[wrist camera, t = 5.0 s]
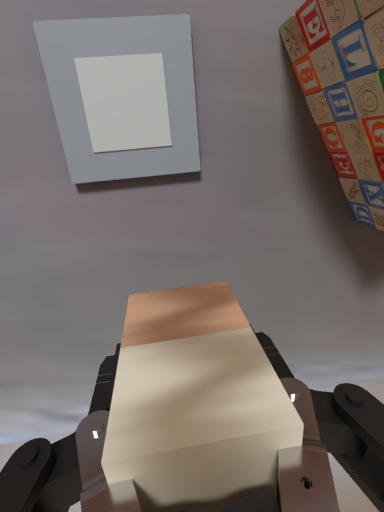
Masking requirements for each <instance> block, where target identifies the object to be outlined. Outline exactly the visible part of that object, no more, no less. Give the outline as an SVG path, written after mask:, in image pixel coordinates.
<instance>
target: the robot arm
mask: <svg viewBox="0 0 384 512" xmlns="http://www.w3.org/2000/svg"><path fill="white" fill-rule="evenodd" d="M249 325H250V326H251V324H249ZM251 328H252V326H251ZM252 330H253V328H252ZM253 332H254V330H253ZM254 334H255V336H256V337H257V339H258V341H259V343H260V345H261V347H262V348H263V350H264V352H265V354H266V356H267V358H268V359H269V361H270V363H271V365H272V367H273V369H274V370H275V372H276V374H277V376H278V378H279V380H280V381H281V383H282V385H283V387H284V389H285V391H286V392H287V394H288V396H289V398H290V400H291V402H292V403H293V405H294V407H295V409H296V411H297V413H298V414H299V416H300V418H301V420H302V422H303V424H304V428H303V438H302V445H300V446H295V447H289V448H284V449H279V450H278V462H277V483H276V498H275V495H274V493H273V491H271V492H266V493H262V494H257V495H252V496H248V497H243V498H242V499H240V500H238V501H237V502H235V503H233V504H231V505H230V506H228V507H226V508H225V509H223V510H221V511H220V512H340V509H339V505H338V500H337V495H336V491H335V486H334V482H333V477H332V472H331V468H330V463H329V458H328V454H327V452H330V453H331V454H332V455H333V456H334V458H335V459H336V460H337V461H338V462H339V463H340V465H341V466H342V467H343V468H344V469H345V471H346V472H347V473H348V474H349V475H350V477H351V478H352V479H353V480H354V481H355V483H356V484H357V485H358V486H359V487H360V489H361V490H362V491H363V492H364V493H365V495H366V496H367V497H368V498H369V499H370V500H371V502H372V503H373V504H374V505H375V507H376V508H377V509H378V510H379V511H380V512H384V404H382V403H381V402H380V401H379V400H378V399H376V398H375V397H374V396H373V395H371V394H370V393H369V392H368V391H366V390H365V389H363V388H362V387H360V386H357V385H354V384H349V383H343V384H339V385H338V386H336V387H335V389H334V392H333V393H331V392H322V391H315V390H311V389H309V388H308V387H307V386H306V385H305V384H304V383H303V382H301V381H300V380H298V379H295V378H294V376H293V374H292V373H291V371H290V369H289V368H288V366H287V365H286V363H285V361H284V360H283V358H282V356H281V355H280V354H279V352H278V350H277V348H276V347H275V345H274V343H273V342H272V340H271V339H270V338H269V337H268V336H267V335H265V334H264V333H263V332H259V333H255V332H254ZM120 348H121V343H119V344H117V347H116V352H115V355H113V356H107V357H106V358H105V360H104V361H103V362H102V364H101V365H100V369H99V373H98V377H97V381H96V385H95V389H94V393H93V397H92V401H91V405H90V410H89V413H88V415H87V416H86V417H85V418H84V419H83V420H82V421H81V422H80V424H79V425H78V427H77V430H76V431H75V432H74V433H72V434H71V435H69V436H67V437H65V438H63V439H61V440H59V441H57V442H55V443H53V444H51V443H50V442H49V441H48V440H47V439H45V438H37V439H33V440H30V441H28V442H26V443H25V444H24V445H22V446H21V447H19V448H18V449H17V450H16V451H15V453H13V455H12V456H11V457H10V459H9V460H8V462H7V463H6V465H5V466H4V468H3V469H2V471H1V472H0V512H68V510H69V507H70V506H71V505H73V504H75V503H77V502H78V501H80V502H81V511H82V512H141V508H140V505H139V502H138V498H137V495H136V491H135V488H134V484H133V481H132V479H130V480H125V481H120V482H115V483H111V484H108V483H107V480H106V477H105V474H104V471H103V468H102V465H101V461H102V455H103V449H104V443H105V437H106V431H107V425H108V419H109V413H110V407H111V401H112V395H113V389H114V383H115V377H116V371H117V365H118V360H119V354H120ZM178 512H186V511H178Z"/></svg>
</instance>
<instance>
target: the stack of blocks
mask: <svg viewBox="0 0 384 512" xmlns="http://www.w3.org/2000/svg"><path fill="white" fill-rule="evenodd" d="M279 31H280V34H281V36H282V39H283V41H284V44H285V47H286V49H287V52H288V54H289V57H290V59H291V62H292V67H293V69H294V72H295V74H296V77H297V79H298V82H299V84H300V86H301V89H302V91H303V94H304V96H305V99H306V101H307V104H308V107H309V109H310V112H311V114H312V116H313V119H314V121H315V123H316V125H318V127H319V131H320V132H321V135H322V137H323V140H324V142H325V145H326V147H327V150H328V151H329V153H330V156H331V158H332V161H333V163H334V166H335V168H336V171H337V173H338V175H339V180H340V183H341V185H342V188H343V190H344V193H345V195H346V198H347V200H348V202H349V205H350V207H351V210H352V212H353V214H354V216H355V219H356V221H357V222H359V223H362V224H365V225H367V226H370V227H373V228H377V229H378V230H381V231H384V0H307V1H306V2H305V3H304V4H303V5H302V6H301V7H300V8H299V9H298V10H297V11H296V12H295V13H294V14H293V15H292V16H291V17H290V18H289V19H287V20H286V21H285V22H284V23H283V24H282V25H281V26H280V28H279Z"/></svg>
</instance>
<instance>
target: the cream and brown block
mask: <svg viewBox="0 0 384 512" xmlns="http://www.w3.org/2000/svg"><path fill="white" fill-rule="evenodd" d="M303 428H304V424H303V422H302V420H301V418H300V416H299V414H298V413H297V411H296V409H295V407H294V405H293V403H292V402H291V400H290V398H289V396H288V394H287V392H286V391H285V389H284V387H283V385H282V383H281V381H280V380H279V378H278V376H277V374H276V372H275V370H274V369H273V367H272V365H271V363H270V361H269V359H268V358H267V356H266V354H265V352H264V350H263V348H262V347H261V345H260V343H259V341H258V339H257V337H256V336H255V334H254V332H253V330H252V328H251V326H250V325H249V323H248V321H247V319H246V317H245V315H244V314H243V312H242V310H241V308H240V306H239V304H238V303H237V301H236V299H235V297H234V295H233V293H232V292H231V290H230V288H229V286H228V284H227V282H226V281H224V282H217V283H210V284H203V285H195V286H188V287H181V288H174V289H167V290H160V291H153V292H146V293H138V294H131V295H129V300H128V306H127V312H126V318H125V324H124V330H123V336H122V342H121V348H120V354H119V360H118V365H117V371H116V377H115V383H114V389H113V395H112V401H111V407H110V413H109V419H108V425H107V431H106V437H105V443H104V449H103V455H102V461H101V465H102V468H103V471H104V474H105V477H106V480H107V483H108V484H111V483H115V482H120V481H125V480H130V479H132V481H133V484H134V488H135V491H136V495H137V498H138V502H139V505H140V508H141V512H178V511H186V512H220V511H221V510H223V509H225V508H226V507H228V506H230V505H231V504H233V503H235V502H237V501H238V500H240V499H242V498H243V497H248V496H252V495H257V494H262V493H266V492H271V491H273V493H274V495H275V498H276V483H277V462H278V450H279V449H284V448H289V447H295V446H300V445H302V438H303Z"/></svg>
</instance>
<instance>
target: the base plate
mask: <svg viewBox="0 0 384 512" xmlns="http://www.w3.org/2000/svg"><path fill="white" fill-rule="evenodd" d="M32 22H33V26H34V30H35V35H36V39H37V43H38V47H39V51H40V55H41V59H42V63H43V67H44V71H45V75H46V80H47V84H48V88H49V92H50V96H51V100H52V104H53V108H54V112H55V116H56V120H57V125H58V129H59V133H60V137H61V141H62V145H63V149H64V153H65V157H66V161H67V165H68V170H69V174H70V178H71V182H72V184H77V183H87V182H97V181H107V180H117V179H127V178H137V177H147V176H157V175H167V174H176V173H186V172H196V171H201V170H200V156H199V142H198V127H197V113H196V99H195V84H194V70H193V56H192V41H191V27H190V14H178V15H156V16H134V17H112V18H90V19H68V20H47V21H32Z"/></svg>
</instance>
